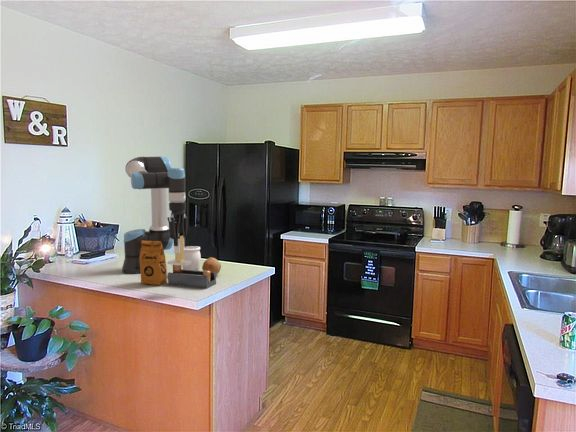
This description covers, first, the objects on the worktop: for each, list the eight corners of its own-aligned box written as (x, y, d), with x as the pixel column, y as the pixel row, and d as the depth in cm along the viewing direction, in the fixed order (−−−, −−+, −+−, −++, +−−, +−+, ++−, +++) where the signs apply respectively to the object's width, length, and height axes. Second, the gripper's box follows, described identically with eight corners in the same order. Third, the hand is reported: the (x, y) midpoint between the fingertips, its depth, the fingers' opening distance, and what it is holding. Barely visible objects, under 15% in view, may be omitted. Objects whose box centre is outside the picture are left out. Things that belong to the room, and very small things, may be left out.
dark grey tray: (168, 284, 212) (167, 266, 211) (178, 280, 221) (177, 262, 220) (206, 288, 205) (206, 269, 204) (216, 283, 213) (215, 265, 212)
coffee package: (159, 287, 209) (157, 242, 206) (137, 285, 212) (135, 241, 210) (170, 281, 218) (168, 239, 216) (149, 280, 222) (147, 238, 219)
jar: (204, 273, 236) (203, 246, 234) (194, 277, 226) (193, 249, 224) (188, 271, 239) (187, 245, 237) (177, 276, 229) (176, 248, 228)
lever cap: (167, 264, 198) (166, 236, 196) (173, 262, 202) (172, 234, 201) (186, 265, 194) (185, 237, 193) (192, 263, 199) (191, 235, 198)
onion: (222, 277, 226) (221, 258, 225) (203, 278, 223) (202, 260, 222) (219, 273, 235) (219, 255, 234) (201, 274, 233) (201, 256, 232)
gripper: (174, 203, 187) (176, 255, 189) (193, 200, 201) (195, 249, 204) (159, 203, 189) (162, 254, 192) (180, 200, 204) (182, 248, 207)
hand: (179, 251), depth 198 cm, fingers closed on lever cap, 3 cm apart
